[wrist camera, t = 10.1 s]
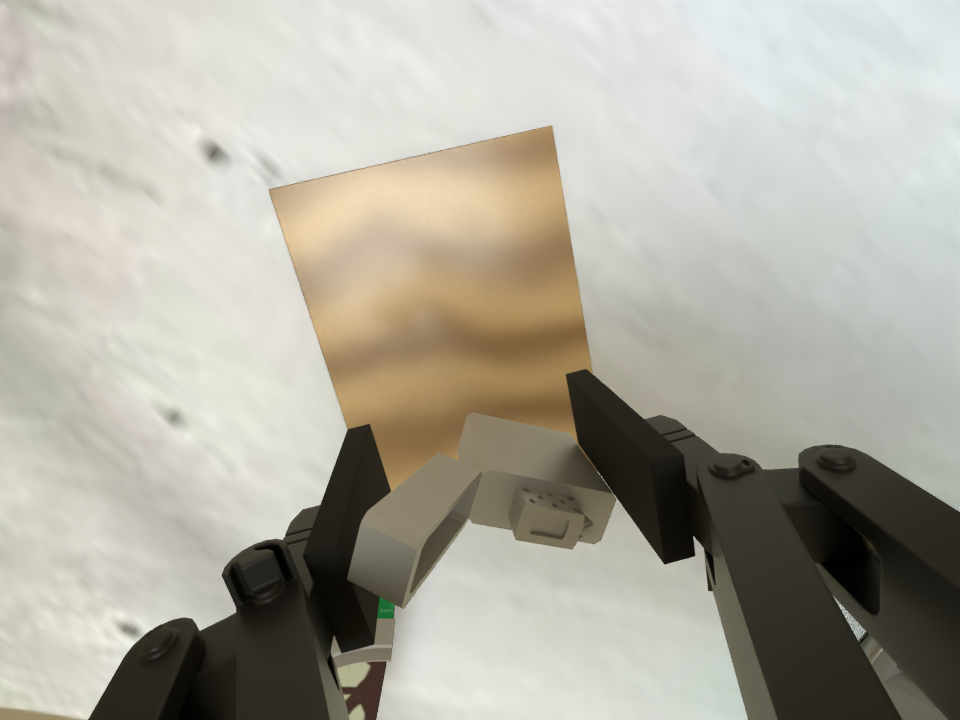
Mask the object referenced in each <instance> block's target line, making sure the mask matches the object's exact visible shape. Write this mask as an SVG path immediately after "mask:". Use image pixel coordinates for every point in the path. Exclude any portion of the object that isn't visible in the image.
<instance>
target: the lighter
mask: <svg viewBox="0 0 960 720" xmlns="http://www.w3.org/2000/svg"><path fill="white" fill-rule="evenodd" d="M457 452H458V458H459V461H457V460H455V459H453V458H450V457H448V456H445V455H443V454H441V453H438V454H437V455H435V456H434V457H433V458H432V459H430V460H429V461H428V462H427V463H426V464H424V465H423V466H422V467H421V468H419V469H418V470H417V471H416V472H415V473H413V474H412V475H411V476H410V477H408V478H407V479H406V480H405V481H404V482H402V483H401V484H400V485H399V486H397V487H396V488H395V489H394V490H393V491H391V492H390V493H389V494H388V495H386V496H385V497H384V498H383V499H382V500H380V501H379V502H378V503H377V504H376V505H374V506H373V507H372V508H371V509H369V510H368V511H367V512H366V514H365V516H364V518H363V519H362V521H361V524H360V528H359V532H358V536H357V540H356V544H355V548H354V552H353V556H352V561H351V565H350V569H349V573H348V577H347V580H349V581H350V582H352V583H354V584H356V585H358V586H360V587H362V588H364V589H366V590H368V591H370V592H372V593H374V594H375V595H377V596H379V597H381V598H383V599H385V600H387V601H389V602H391V603H393V604H395V605H397V606H399V607H401V608H403V609H404V608H405V606H406V605H407V604H408V602H409V601H410V599H411V598H412V597H413V595H414V594H415V593H416V591H417V590H418V589H419V587H420V586H421V585H422V583H423V582H424V580H425V579H426V578H427V576H428V575H429V574H430V572H431V571H432V570H433V568H434V567H435V566H436V564H437V563H438V561H439V560H440V559H441V557H442V556H443V555H444V553H445V552H446V551H447V549H448V548H449V547H450V545H451V544H452V542H453V541H454V540H455V538H456V537H457V536H458V534H459V533H460V532H461V530H462V529H463V528H464V526H465V525H466V522H467V520H468V518H469V519H470V520H471V522H472V523H475V524H480V525H486V526H492V527H498V528H504V529H509V530H512V531H513V534H514V537H515V540H519V541H525V542H531V543H537V544H543V545H549V546H555V547H561V548H567V549H573V548H574V546H575V545H576V543H577V542H578V541H579V542H585V543H590V544H595V543H597V542H599V541H600V540H601V539H602V536H603V534H604V531H605V528H606V526H607V523H608V520H609V518H610V515H611V512H612V510H613V507H614V504H615V502H616V498H615V496H614V495H613V493H612V492H611V490H610V489H609V487H608V486H607V485H606V483H605V482H604V480H603V479H602V478H601V476H600V475H599V474H598V472H597V471H596V469H595V468H594V467H593V465H592V464H591V462H590V461H589V460H588V458H587V457H586V455H585V454H584V453H583V451H582V450H581V449H580V447H579V446H578V444H577V443H576V442H575V440H574V439H573V437H572V436H571V435H570V433H566V432H562V431H557V430H552V429H548V428H543V427H538V426H534V425H529V424H525V423H520V422H515V421H511V420H506V419H501V418H497V417H492V416H488V415H483V414H478V413H474V412H472V413H471V414H469V415H467V417H466V421H465V424H464V428H463V431H462V435H461V438H460V442H459V445H458V449H457Z"/></svg>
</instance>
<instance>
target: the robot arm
mask: <svg viewBox="0 0 960 720" xmlns="http://www.w3.org/2000/svg"><path fill="white" fill-rule="evenodd" d="M566 380H567V385H568V391H569V396H570V402H571V407H572V413H573V418H574V424H575V429H576V435H577V440H578V444H579V445H580V447H581V448H582V450H583V451H584V452H585V454H586V455H587V457H588V458H589V459H590V461H591V462H592V464H593V465H594V466H595V468H596V469H597V471H598V472H599V473H600V475H601V476H602V478H603V479H604V480H605V482H606V483H607V485H608V486H609V487H610V489H611V490H612V492H613V493H614V494H615V496H616V497H617V499H618V500H619V501H620V503H621V504H622V506H623V507H624V508H625V510H626V511H627V513H628V514H629V515H630V517H631V518H632V520H633V521H634V522H635V524H636V525H637V527H638V528H639V529H640V531H641V532H642V534H643V535H644V536H645V538H646V539H647V541H648V542H649V543H650V545H651V546H652V548H653V549H654V550H655V552H656V553H657V555H658V556H659V557H660V559H661V560H662V562H663V563H664V564H668V563H672V562H675V561H679V560H683V559H686V558H690V557H694V556H695V550H694V541H693V536H694V537H695V538H696V539H697V540H698V541H699V543H700V544H701V545H702V546H703V547H704V553H705V563H706V572H707V582H708V591H713V593H714V596H715V600H716V604H717V607H718V611H719V615H720V618H721V622H722V626H723V629H724V633H725V637H726V640H727V644H728V647H729V651H730V655H731V658H732V662H733V666H734V669H735V673H736V677H737V680H738V684H739V688H740V691H741V695H742V698H743V702H744V706H745V709H746V713H747V717H748V720H960V512H959V511H957V510H955V509H954V508H952V507H951V506H949V505H947V504H946V503H944V502H943V501H941V500H939V499H938V498H936V497H935V496H933V495H931V494H930V493H928V492H927V491H925V490H923V489H922V488H920V487H919V486H917V485H915V484H914V483H912V482H911V481H909V480H907V479H906V478H904V477H902V476H901V475H899V474H898V473H896V472H894V471H893V470H891V469H890V468H888V467H886V466H885V465H883V464H882V463H880V462H878V461H877V460H875V459H874V458H872V457H870V456H869V455H867V454H865V453H863V452H861V451H858V450H856V449H853V448H848V447H844V446H841V445H821V446H813V447H810V448H807V449H804V450H803V451H802V452H801V453H800V454H799V460H798V462H799V468H790V469H774V470H762V469H761V467H760V466H759V465H758V464H757V463H756V462H755V461H754V460H752V459H750V458H748V457H746V456H742V455H737V454H727V453H719V452H717V451H716V450H715V449H714V448H712V447H711V446H710V445H708V444H707V443H706V442H704V441H703V440H702V439H701V438H699V437H698V436H695V434H694V433H693V432H691V431H690V430H687V428H686V427H685V426H684V425H682V424H681V423H680V422H678V421H677V420H675V419H672V418H668V417H665V416H662V415H659V416H656V417H652V418H648V419H643V418H642V417H641V416H640V415H639V414H637V413H636V412H635V411H634V410H633V409H632V408H631V407H629V406H628V405H627V404H626V403H625V402H624V401H623V400H622V399H620V398H619V397H618V396H617V395H616V394H615V393H614V392H612V391H611V390H610V389H609V388H608V387H607V386H606V385H604V384H603V383H602V382H601V381H600V380H599V379H598V378H596V377H595V376H594V375H593V374H592V373H591V372H590V371H588V370H587V369H583V370H579V371H576V372H572V373H568V374H566ZM390 492H391V489H390V486H389V483H388V479H387V476H386V473H385V470H384V467H383V464H382V460H381V457H380V454H379V451H378V448H377V445H376V441H375V438H374V435H373V432H372V429H371V426H370V424H366V425H362V426H358V427H354V428H351V429H348V430H347V433H346V436H345V439H344V442H343V444H342V447H341V450H340V453H339V455H338V458H337V461H336V464H335V466H334V469H333V472H332V475H331V477H330V480H329V483H328V486H327V489H326V491H325V494H324V497H323V500H322V502H321V505H319V506H315V507H311V508H307V509H303V510H302V511H301V512H300V513H299V514H298V515H297V516H296V517H295V518H294V519H293V521H292V522H291V523H290V525H289V527H288V530H287V532H286V534H285V535H286V537H284V539H283V540H279V539H273V540H266V541H263V542H260V543H257V544H254V545H252V546H250V547H249V548H247V549H245V550H243V551H242V552H240V553H239V554H238V555H236V556H235V557H234V558H233V559H232V560H231V561H230V562H229V563H228V564H227V565H226V567H225V568H224V571H223V573H222V577H223V579H224V581H225V584H226V586H227V588H228V590H229V592H230V594H231V597H232V599H233V601H234V603H235V605H236V613H235V614H233V615H231V616H229V617H227V618H226V619H224V620H222V621H219V622H217V623H215V624H213V625H211V626H209V627H207V628H205V629H203V630H201V631H199V629H198V627H197V625H196V623H195V622H194V621H193V619H190V618H179V619H175V620H171V621H169V622H167V623H164V624H161V625H159V626H157V627H156V628H154V629H153V630H151V631H149V632H148V633H147V634H145V635H144V636H143V637H142V638H141V639H140V640H139V641H138V642H137V643H135V644H134V645H133V646H132V648H131V649H130V650H129V652H128V653H127V654H126V655H125V657H124V658H123V660H122V662H121V664H120V665H119V667H118V669H117V671H116V672H115V674H114V676H113V678H112V679H111V681H110V683H109V685H108V686H107V688H106V690H105V691H104V693H103V695H102V697H101V698H100V700H99V702H98V704H97V705H96V707H95V709H94V711H93V712H92V714H91V716H90V718H89V719H88V720H350V719H349V715H348V711H347V707H346V703H345V699H344V695H343V691H342V687H341V683H340V679H339V675H338V671H337V667H336V664H335V662H334V659H333V657H332V655H331V652H330V651H331V647H332V642H333V637H334V636H335V639H336V641H337V644H338V646H339V649H340V651H341V654H342V653H346V652H349V651H353V650H357V649H360V648H364V647H367V646H371V645H374V642H375V634H376V625H377V616H378V607H379V598H380V597H379V596H377V595H375V594H374V593H372V592H370V591H368V590H366V589H364V588H362V587H360V586H358V585H356V584H354V583H352V582H350V581H349V580H347V577H348V573H349V569H350V565H351V561H352V556H353V552H354V548H355V544H356V540H357V536H358V532H359V528H360V524H361V521H362V519H363V518H364V516H365V514H366V512H367V511H368V510H369V509H371V508H372V507H373V506H374V505H376V504H377V503H378V502H379V501H380V500H382V499H383V498H384V497H385V496H386V495H388V494H389V493H390ZM833 596H834V597H835V598H836V599H837V600H838V601H839V602H840V603H841V604H842V606H843V607H844V608H845V609H846V610H847V611H848V612H849V613H850V614H851V615H852V616H853V617H854V618H855V620H856V621H857V622H858V623H859V624H860V625H861V626H862V627H863V628H864V629H865V630H866V631H867V633H868V635H867V637H866V638H865V639H864V640H863V642H862V643H861V644H860V643H859V642H858V640H857V638H856V636H855V634H854V633H853V631H852V629H851V627H850V626H849V624H848V622H847V620H846V618H845V617H844V615H843V613H842V611H841V609H840V608H839V606H838V604H837V602H836V601H835V599H834V597H833Z"/></svg>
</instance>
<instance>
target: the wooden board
mask: <svg viewBox="0 0 960 720" xmlns="http://www.w3.org/2000/svg"><path fill="white" fill-rule="evenodd" d="M269 193H270V196H271V199H272V202H273V205H274V208H275V211H276V214H277V217H278V220H279V223H280V226H281V229H282V232H283V235H284V238H285V241H286V244H287V247H288V250H289V253H290V256H291V259H292V262H293V265H294V269H295V272H296V275H297V278H298V281H299V284H300V287H301V290H302V293H303V296H304V299H305V302H306V305H307V308H308V311H309V314H310V317H311V320H312V323H313V326H314V329H315V332H316V335H317V338H318V341H319V344H320V347H321V350H322V353H323V356H324V359H325V362H326V365H327V368H328V371H329V374H330V377H331V380H332V383H333V386H334V389H335V392H336V395H337V398H338V401H339V404H340V407H341V410H342V413H343V416H344V420H345V423H346V426H347V429H351V428H354V427H358V426H362V425H366V424H370V426H371V429H372V432H373V435H374V438H375V441H376V445H377V448H378V451H379V454H380V457H381V460H382V464H383V467H384V470H385V473H386V476H387V479H388V483H389V486H390V489H391V491H393V490H394V489H395V488H396V487H397V486H399V485H400V484H401V483H402V482H404V481H405V480H406V479H407V478H408V477H410V476H411V475H412V474H413V473H415V472H416V471H417V470H418V469H419V468H421V467H422V466H423V465H424V464H426V463H427V462H428V461H429V460H430V459H432V458H433V457H434V456H435V455H437V454H438V453H441V454H443V455H445V456H448V457H450V458H453V459H455V460H457V461H459V458H458V452H457V449H458V445H459V442H460V438H461V435H462V431H463V428H464V424H465V421H466V417H467V415H469V414H471V413H472V412H474V413H478V414H483V415H488V416H492V417H497V418H501V419H506V420H511V421H515V422H520V423H525V424H529V425H534V426H538V427H543V428H548V429H552V430H557V431H562V432H566V433H570V435H571V436H572V437H573V439H574V440H575V442H576V443H577V444H578V440H577V435H576V429H575V424H574V418H573V413H572V407H571V402H570V396H569V391H568V385H567V380H566V374H568V373H572V372H576V371H579V370H583V369H587V370H588V371H590V372H591V373H592V367H591V361H590V355H589V349H588V343H587V337H586V331H585V324H584V318H583V312H582V306H581V300H580V294H579V288H578V282H577V276H576V269H575V263H574V257H573V251H572V245H571V239H570V233H569V227H568V221H567V214H566V208H565V202H564V196H563V190H562V184H561V178H560V172H559V165H558V159H557V153H556V147H555V141H554V135H553V129H552V126H548V127H543V128H539V129H534V130H530V131H526V132H521V133H517V134H512V135H508V136H503V137H499V138H495V139H490V140H486V141H481V142H477V143H472V144H468V145H464V146H459V147H455V148H450V149H446V150H441V151H437V152H433V153H428V154H424V155H419V156H415V157H410V158H406V159H402V160H397V161H393V162H388V163H384V164H379V165H375V166H371V167H366V168H362V169H357V170H353V171H348V172H344V173H340V174H335V175H331V176H326V177H322V178H318V179H313V180H309V181H304V182H300V183H295V184H291V185H287V186H282V187H278V188H273V189H269ZM592 374H593V373H592ZM578 446H579V447H580V445H579V444H578ZM580 449H581V450H582V448H581V447H580ZM582 451H583V450H582ZM583 453H584V454H585V452H584V451H583ZM585 455H586V454H585ZM586 457H587V455H586ZM587 458H588V457H587ZM588 460H589V461H590V459H589V458H588ZM590 462H591V461H590ZM591 464H592V462H591ZM592 465H593V464H592ZM593 467H594V468H595V466H594V465H593ZM595 469H596V468H595ZM596 471H597V469H596Z"/></svg>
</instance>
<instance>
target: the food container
mask: <svg viewBox="0 0 960 720" xmlns="http://www.w3.org/2000/svg"><path fill="white" fill-rule="evenodd" d="M394 607H395V604H393V603H391V602H389V601H387V600H385V599H383V598H381V597H380V598H379V607H378V616H377V625H376V634H375V642H374V645H371V646H367V647H364V648H360V649H357V650H353V651H349V652H346V653H342V654H341V651H340V649H339V646H338V644H337V641H336V639H335V636H334V637H333V642H332V647H331V651H330V652H331V655H332V657H333V659H334V662H335V664H336V667H337V671H338V675H339V679H340V683H341V687H342V691H343V695H344V699H345V703H346V707H347V711H348V715H349V719H350V720H376V718H377V712H378V707H379V701H380V696H381V691H382V685H383V679H384V674H385V668H386V662H387V661H391V654H392V645H393V635H394V624H395V619H394Z"/></svg>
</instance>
